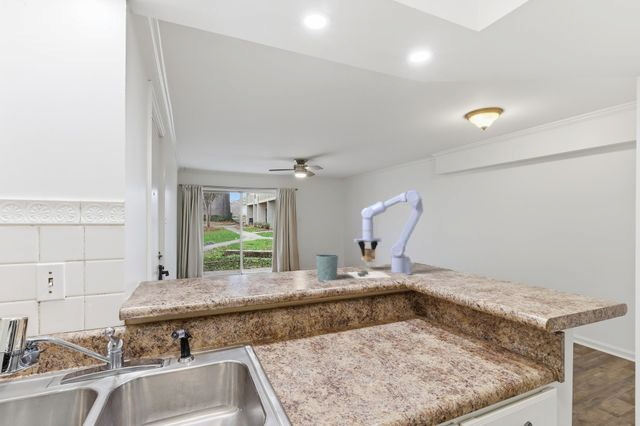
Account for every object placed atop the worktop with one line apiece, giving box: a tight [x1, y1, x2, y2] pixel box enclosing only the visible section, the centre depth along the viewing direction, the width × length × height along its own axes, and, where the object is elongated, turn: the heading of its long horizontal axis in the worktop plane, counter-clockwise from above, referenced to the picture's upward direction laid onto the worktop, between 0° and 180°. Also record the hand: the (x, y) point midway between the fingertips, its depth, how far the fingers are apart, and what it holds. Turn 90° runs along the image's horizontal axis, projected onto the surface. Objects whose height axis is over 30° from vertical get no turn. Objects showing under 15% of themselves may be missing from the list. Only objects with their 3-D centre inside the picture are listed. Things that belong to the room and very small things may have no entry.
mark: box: [360, 270, 369, 275], centre depth 149 cm, size 2×4×1 cm, turn 8°
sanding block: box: [360, 248, 376, 263], centre depth 161 cm, size 4×10×6 cm, turn 8°
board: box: [346, 270, 392, 280], centre depth 146 cm, size 18×16×1 cm
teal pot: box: [315, 253, 339, 284], centre depth 137 cm, size 10×10×12 cm
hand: (368, 255), depth 161 cm, fingers closed on sanding block, 4 cm apart
